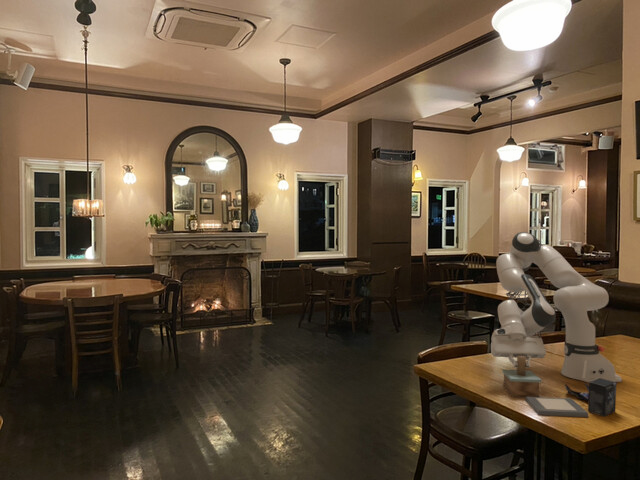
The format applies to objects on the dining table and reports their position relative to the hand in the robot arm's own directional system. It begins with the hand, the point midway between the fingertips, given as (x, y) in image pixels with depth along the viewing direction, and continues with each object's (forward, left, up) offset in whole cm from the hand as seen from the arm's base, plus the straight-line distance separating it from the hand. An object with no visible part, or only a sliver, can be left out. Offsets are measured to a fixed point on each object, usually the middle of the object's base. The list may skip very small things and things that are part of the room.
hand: (521, 366), depth 177 cm
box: (-22, +15, -11) cm, 29 cm away
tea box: (0, -1, -10) cm, 10 cm away
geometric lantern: (-20, -59, -11) cm, 63 cm away
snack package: (-22, +3, -11) cm, 25 cm away
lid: (0, -1, -4) cm, 4 cm away
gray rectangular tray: (-7, +14, -10) cm, 19 cm away
